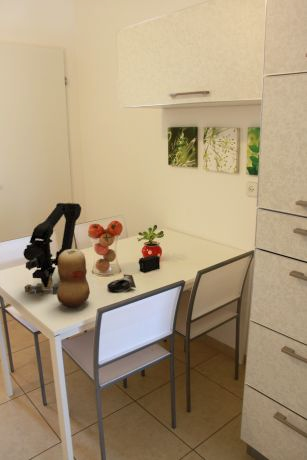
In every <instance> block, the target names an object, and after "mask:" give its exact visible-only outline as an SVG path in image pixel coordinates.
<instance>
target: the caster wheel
mask: <svg viewBox="0 0 307 460" xmlns="http://www.w3.org/2000/svg"><path fill="white" fill-rule="evenodd" d="M122 276H123V277H122V278H120V279H115V280H112V281H111V282H109V283H108V284H107V289H108V291H109V292H119V293H126V292H127V291H128V290H131V289H132V288H134V289H136V288H137V285H136V284H135V279H134V276H133V274H123V273H122Z"/></svg>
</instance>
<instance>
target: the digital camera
mask: <svg viewBox="0 0 307 460" xmlns="http://www.w3.org/2000/svg"><path fill="white" fill-rule="evenodd" d="M160 261H161V260H160V256H158V255H155V254H153V255H149V256H145V257H141V258H139V260H138V265H139V272H141V273H143V274H146V273H149V272H154V271H157V270H160V266H161V265H160V263H161V262H160Z"/></svg>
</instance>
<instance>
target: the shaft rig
mask: <svg viewBox="0 0 307 460" xmlns="http://www.w3.org/2000/svg"><path fill="white" fill-rule="evenodd" d="M59 283H60V282H59ZM59 283H58V282H54V283H53V286H52V288H51V290H52V294H53V295H57V290H58V286H59ZM23 288H24V293H27V294H29V293H30V292H32V291H35V294H36V295H41V293H42V292H43V291H44V290H42V285H41V282H38V283H37V284H36V285H32V284H30V283H28V284H26V285H24V287H23Z"/></svg>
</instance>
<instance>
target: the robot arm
mask: <svg viewBox="0 0 307 460" xmlns="http://www.w3.org/2000/svg"><path fill="white" fill-rule="evenodd" d="M81 212H82V206H81V204H80V203H77V202H74V203H73V202H66V203H65V202H58V203H56V206H55V208H54V209H53V210H52V211H51V213H50V214H49V215H48V217H47V218H45V220H44V221H42V222H41V223H39V224H37V225H36V226H35V227H34V229H33V231H32V234H31V237H30V240H29V244H27V245H26V246H25V247H26V248H25V249H24V250H23V252H22V253H23V256H24V259H26V260H27V262H26V263H25V269H27V270H28V271H31V270H33V269H34V268H35V270H34V272H32V274H31V275H32V278H33V279H40V281H41V280H42V283H43V285H44V287H47V285H48V282H49V278H50V274H49V273H52V277H53V276H54V273H55V271H56V267H57V268H58V258H59V255H60V254H61V253H62V252H63V251H65V250H68V249H73V242H74V235H75V230H76V221H77V220H78V219H79V218H80V217H81V216H80V215H81ZM62 217H64V219H65V222H64V227H63V228H64V229H63V235H62V242H61V248H60V249H59V250H58V251H56V253H55V258H52V257H53V254H52V253H51V243H52V242H53V239H51V238H52V236H53V234H54V228H55V227H56V225H57V224H58V222H59V221H60V220H61V218H62ZM53 265H54V266H53Z"/></svg>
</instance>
